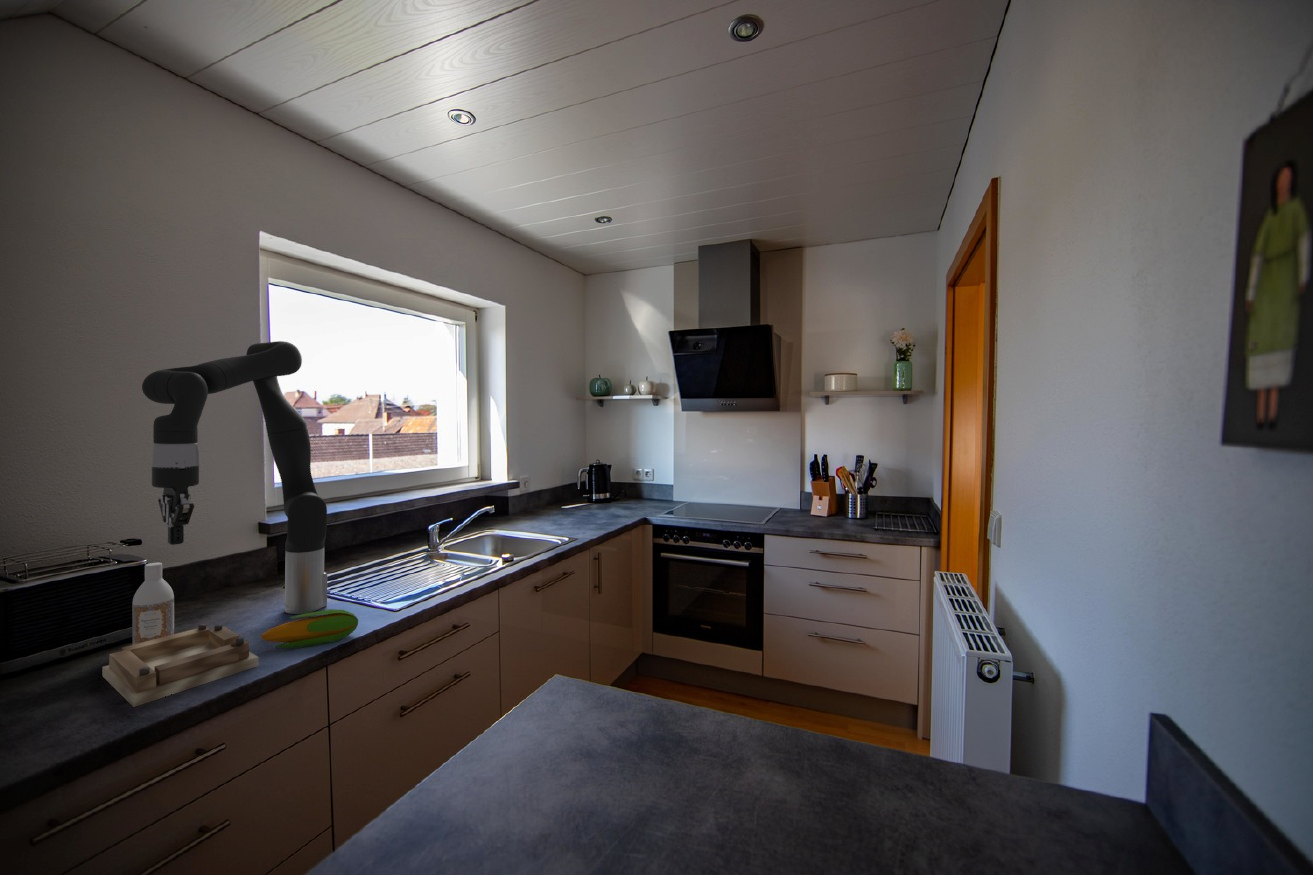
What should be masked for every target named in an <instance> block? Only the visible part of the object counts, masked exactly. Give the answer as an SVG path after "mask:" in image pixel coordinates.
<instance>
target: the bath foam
mask: <svg viewBox="0 0 1313 875" xmlns="http://www.w3.org/2000/svg"><path fill="white" fill-rule="evenodd" d="M174 594H175V593H174V591H173V589H172V587H171V586H170V584H169V583H168V582H167V581H166V580H164V578H163V563H162V562H151V563H146V564H145V565H144V581H143V582H142V583H141V585H140V586H139V587H138V588H137V589H136V592H135V594H134V595H133V598H132V604H131V605H132V607H131V609H132V620H131V621H132V624H131V626H132V629H131V631H132V633H131V634H132V645H134V644H138V643H142V642H146V641H150V640H154V639H158V638H162V637H165V636H169V635H173V634H175V595H174Z"/></svg>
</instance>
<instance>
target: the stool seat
mask: <svg viewBox="0 0 1313 875" xmlns="http://www.w3.org/2000/svg"><path fill="white" fill-rule="evenodd" d="M197 627H198V628H194V629H190V630H185V631H180V632H178V633H174V634H173V635H169V636H165V637H162V638H158V639H154V640H150V641H146V642H142V643H138V644H134V645H133V644H130V645H128V646H127V645H126V646H124V647H122V650H119V651H118V652H117V651H116V652H113V653H109V655H108V656H109V658H108V661H109V662H108V665H103V666H102V670H101V671H102V674H101V675H102V677H103V678H104V679H105V680H106V682H108V683H109V684H110V685H111V687H113V688H114V689H115V690H116V691H117V693H119V694H120V696H122V697H123V698H124V699H125V700H126V701H127V702H128V703H129V704H130V705H131V706H132V707H133V708H135V707H138V706H141V705H144V704H147V703H150V702H153V701H156V700H159V699H162V698H165V696H166V697H169V696H171V694H172V695H174V694H177V693H180V692H184V691H186V690H189V689H192V688H195V687H199V686H202V685H205V684H207V683H211V682H213V681H217V680H220V679H223V678H226V677H229V676H232V675H236V674H239V673H241V672H245V671H248V670H251V669H254V668H256V667H259V656H258V655H256V654H254V653H252V652H251V651H249V657H247V658H245V659H243V660H238V661H235V662H232V663H229V664H226V665H222V666H219V667H216V668H213V669H210V670H207V671H204V672H200V673H197V674H194V675H191V676H188V677H185V678H182V679H178V680H175V681H172V682H169V683H166V684H163V685H159V684H157V683H156V672H155V666H158V665H161V664H165V663H168V662H171V661H175V660H178V659H182V658H185V657H189V656H192V655H195V654H199V653H202V652H206V651H209V650H213V649H216V648H219V647H223V646H226V645H230V644H233V643H235V642H236V639H237V638H240V635H239V634H238V633H236V632H234V631H233V630H231V629H229V628H227V627H226V626H223V624H222V623H219V624H215V625H214V628H213V629H210V628H209V627H207V624H206V623H201V624H198V626H197Z"/></svg>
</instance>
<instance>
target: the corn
mask: <svg viewBox="0 0 1313 875" xmlns="http://www.w3.org/2000/svg"><path fill="white" fill-rule="evenodd" d="M298 618H300V619H298ZM289 619H295V620H292V621H288V622H285V623H282V624H279V625H277V626H274V627H272V628H269V629H267V630H266V631H264V632H263V633H261V634H260V638H261V639H262V640H263V641H266V642H270V643H273V642H274V643H281V644H277V645H276V646H274V648H275V649H296V648H306V647H311V646H317V645H323V644H327V643H328V644H329V643H334V642H339V641H341V640H343V639H345V638H347V637H348V636H350V635H351V634H352V633H354V631H355V630H356V629H357V627H358V625H359V618H358V616H356V615H355V614H354V613H352V612H349V611H347V610H345V609H334V608H333V609H326V610H325V609H324V610H317V611H313V612H308V613H302V614H296V615H294V616H290V617H289Z"/></svg>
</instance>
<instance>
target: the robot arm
mask: <svg viewBox="0 0 1313 875" xmlns="http://www.w3.org/2000/svg"><path fill="white" fill-rule="evenodd" d="M302 363H303V357H302V354H301V352H300V350H299V348H298V347H297V346H296V345H294V344H293V343H292V342H288V341H283V340H282V341H281V340H278V341H268V342H259V343H254V344H251V345H249V347H248V348H247V351H246V354H245V355H239V356H232V357H231V356H230V357H225V358H220V359H215V360H211V361H207V362H203V363H199V364H196V365H191V366H181V367H172V368H164V369H159V370H155V371H154V372H151V373H149V374H148V375H146V377H145V378H144V380H143V381H142V384H141V390H142V393H143V394H144V396H145V398H147V399H148V400H150V401H151V402H154V403H156V404H157V403H158V404H164V405H173V408H172V410H171V412H170V413H168V414H165V415H161V416H160V415H159V416H157V417H156V418H155V419H154V421H153V425H152V426H153V431H152V432H153V433H152V436H153V442H152V443H153V444H152V451H151V486H152V487H153V488H157V489H158V488H159V489H163V492H162V494H161V495H160V498H159V497H158V500H157V502H158V506H159V509H160V510H159V511H160V513H161V514H160V515H161V517H162V521H163V523H164V524H165V525H166V527H167V543H168V544H170V545H172V546H175V545H181V544H183V543H184V541H185V540H184V539H185V538H184V536H185V531H184V527H186V525H189V523H190V520H191V517H192V514H193V511H194V508H195V504H194V503H192V498H191V494H190V493H189V487H196V486H198V485H199V483H200V452H199V446H198V445H199V444H198V441H199V440H198V432H199V431H198V424H199V422H200V419H201V416H202V414H203V410H204V407H205V405H206V402H207V399H208V395H211V394H217V393H220V392H223V391H226V390H229V389H232V388H235V387H238V386H241V385H243V384H247V383H250V382H253V385H254V387H255V391H256V393H257V394H256V395H257V396H258V401H259V403H260V407H261V410H262V415H263V419H264V424H265V429H266V433H267V434H266V435H267V437H268V438H267V439H268V443H269V447H270V450H271V453H272V454H271V455H272V457H273V460H274V463H275V466H276V469H277V470H278V471H277V472H278V474H279V477H280V481H281V489H282V490H281V491H282V500H283V511H284V514H285V516H286V518H287V535H286V541H285V544H284V545H285V546H284V547H285V549H284V550H285V558H284V559H285V561H284V562H285V563H284V564H285V566H284V567H285V568H284V571H285V572H284V575H285V576H284V578H285V579H284V612H285V613H286V614H289V615H290V614H291V615H301V614H305V613H311V612H317V611H319V610H320V609H322V608H324V607H327V605H328V573H327V572H325V544H326V543H325V541H326V538H327V527H328V524H327V523H328V509H327V508H328V507H327V504H326V500H324V499H323V498H322V497H321V496H319V494H318V492H317V488H316V486H315V483H314V480H313V475H312V470H311V465H312V464H311V460H312V459H311V458H312V454H311V453H312V452H311V451H312V450H311V449H312V448H311V446H312V445H311V439H310V435H309V430H308V426H307V422H306V419H304V417H303V416H302V414H301V413H300V412H299V411H298V410H297V409H296V408H295V406H293V405H292V404H291V402H289V401H288V400H287V398H286V397H285V395H284V394H283V391H282V389H281V386H280V383H279V379H278V377H283V376H290V375H293V374H295V373H297V372H298V371H299V370H300V368H301V367H302Z"/></svg>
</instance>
